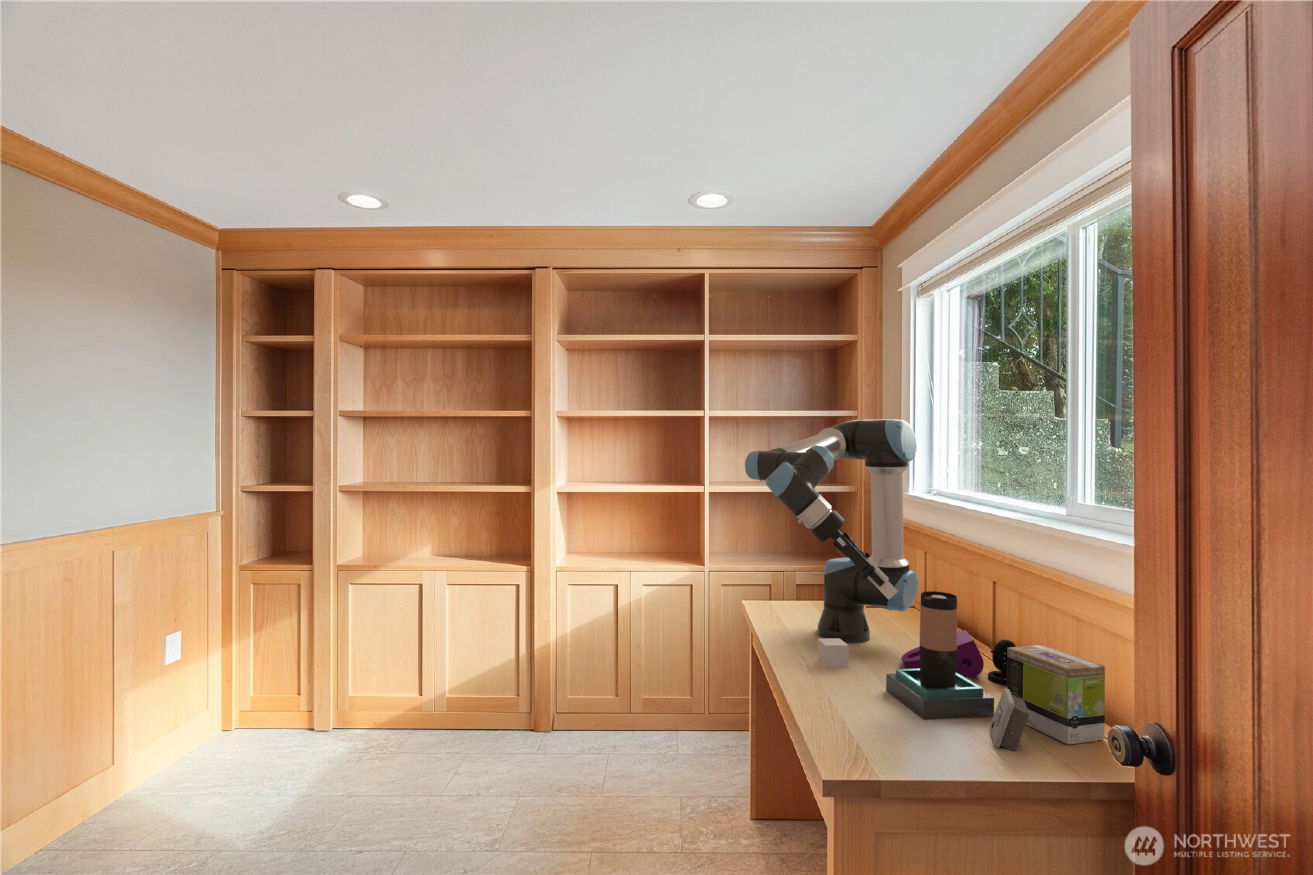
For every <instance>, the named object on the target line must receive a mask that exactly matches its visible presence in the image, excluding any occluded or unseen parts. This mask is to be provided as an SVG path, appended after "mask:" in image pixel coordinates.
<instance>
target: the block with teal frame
mask: <svg viewBox="0 0 1313 875" xmlns="http://www.w3.org/2000/svg"><path fill="white" fill-rule="evenodd" d="M885 677H886V678H885V681H886V682H885V686H886V687H885V691H886V693H888V694H889V695H890V696H892V697H893V698H894V699H896V700H897V701H899V703H901V704H902V705H904V707H906V708H907V709H909V710H910V711H911V712H913V713H914V714H916V715H917V716H918V717H919V718H920V719H922V720H923V721H927V720H947V719H948V720H949V719H952V720H953V719H970V718H971V719H972V718H973V719H974V718H993V717H994V714H995V697H994V696H992V695H990V694H989V693H987V692H985V691H984V688H983V687H982V686H981V685H978V684H977V683H975V682H974V681H971V680H970V679H969V678H965V677H963V676H961V675H960V674H958V673H956V678H955V688H927V687H925V686H924V685H923V684H921V683H920V668H918V669H907V668H896V669H895V673H886V675H885Z"/></svg>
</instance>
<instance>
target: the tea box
mask: <svg viewBox="0 0 1313 875" xmlns="http://www.w3.org/2000/svg"><path fill="white" fill-rule="evenodd" d="M1105 669H1106V666H1105V665H1103V664H1101V663H1097V662H1095V661H1092V660H1088V659H1085V658H1082V657H1081V656H1076V655H1073V654H1070V653H1067V652H1064V651H1061V650H1060V649H1055V648H1052V647H1049V646H1046V645H1044V644H1041V645H1040V644H1037V645H1027V646H1026V645H1024V646H1023V645H1022V646H1016V647H1009V648H1007V678H1006V679H1007V685H1006V688H1007V689H1009V690H1010V693H1011V695H1014V696H1016V697H1018V698H1020V699H1023V700H1024V702H1025V704H1026V707H1027V709H1028V712H1029V716H1028V719H1027V722H1026V724H1025V726H1026V725H1027V726H1029V727H1031V728H1033V729H1035V730H1037V731H1039V732H1041V733H1043V734H1045V735H1047V736H1049V737H1051V738H1053V739H1055V740H1058V741H1059V742H1061V743H1064V744H1065V745H1077V744H1078V745H1079V744H1084V743H1085V742H1086V743H1091V742H1092V741H1093V742H1099V741H1098V740H1100V739H1105V724H1106V723H1105V721H1106V720H1105V719H1106V718H1105V717H1106V716H1105V712H1106V710H1105V709H1106V706H1105V705H1106V701H1105V700H1106V696H1105V695H1106V688H1105V687H1106V681H1105V680H1106V673H1105V672H1106V670H1105ZM1025 711H1026V710H1025ZM1100 741H1101V740H1100Z"/></svg>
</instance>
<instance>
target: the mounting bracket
mask: <svg viewBox="0 0 1313 875" xmlns="http://www.w3.org/2000/svg"><path fill="white" fill-rule="evenodd" d="M900 659H901V661H902V663H903V665H904V668H905V669H920V646H917V647H915V648H913V649H911V650H908V651H907V652H906V653H903V655H901V658H900ZM984 664H985V663H984V658H983V656H982V654H981V652H980V651H979V649H978V646H977V644H976V642H975V639H973V637H972V636H971V634H969V632H968V631H967V630H966V629H964V630H962V631H959V632H958V631H957V658H956V673H958V674H960V675H961V676H963V677H965V678H966V679H974V678H977V677H978V676H979V675H980V674H982V672H983V669H984V668H985V667H984V666H985V665H984Z"/></svg>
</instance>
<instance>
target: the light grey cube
mask: <svg viewBox="0 0 1313 875" xmlns="http://www.w3.org/2000/svg"><path fill="white" fill-rule="evenodd" d="M816 655H817V661H816V662H818V663H819V664H820V665H821V666H822V667H823V668H824V669H826V670H827V669H828V670H831V669H848V668H849V645H848V644H847V642H844V641H842V640H841V639H840V638H827V639H826V638H817V654H816Z"/></svg>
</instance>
